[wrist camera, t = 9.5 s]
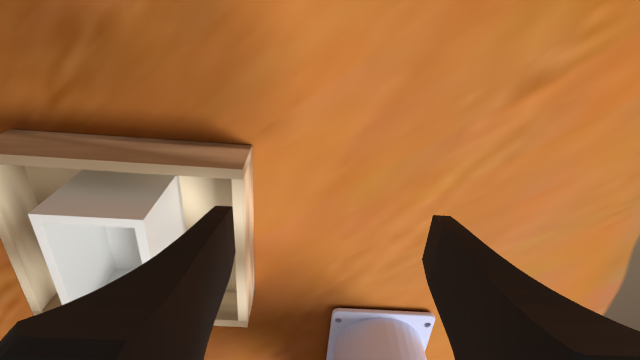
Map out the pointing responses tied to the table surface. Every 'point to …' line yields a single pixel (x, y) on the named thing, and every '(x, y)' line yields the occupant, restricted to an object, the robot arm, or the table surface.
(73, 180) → the small crate
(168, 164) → the shallow wooden tray
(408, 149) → the table surface
